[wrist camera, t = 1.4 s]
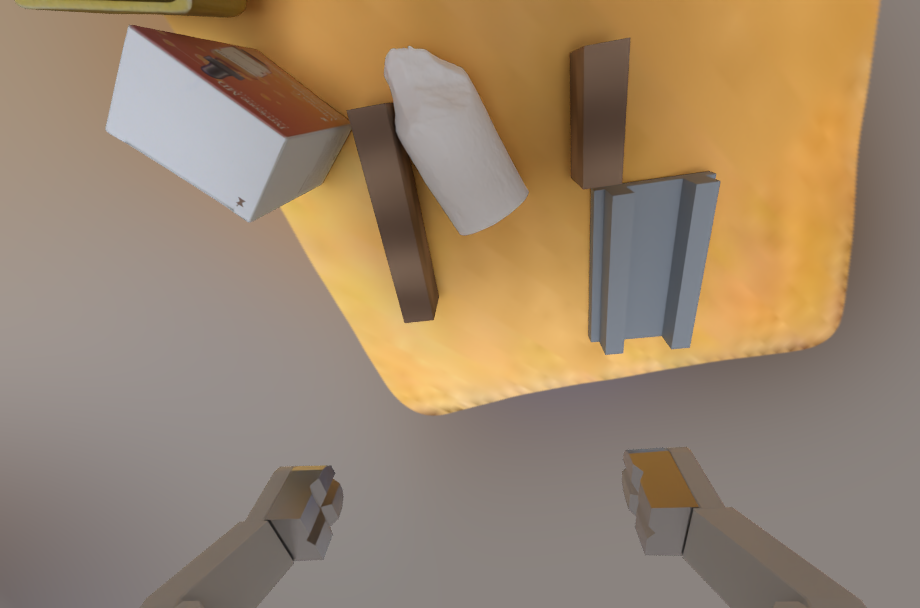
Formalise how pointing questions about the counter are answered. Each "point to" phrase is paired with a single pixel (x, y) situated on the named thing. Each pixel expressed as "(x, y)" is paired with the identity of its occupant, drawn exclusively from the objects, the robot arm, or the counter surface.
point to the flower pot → (142, 6)
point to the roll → (452, 140)
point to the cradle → (649, 258)
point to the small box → (223, 120)
